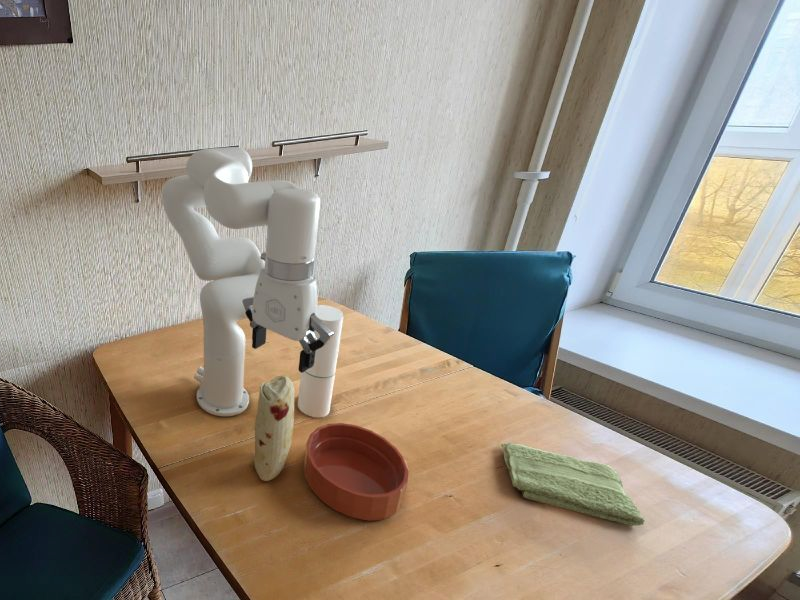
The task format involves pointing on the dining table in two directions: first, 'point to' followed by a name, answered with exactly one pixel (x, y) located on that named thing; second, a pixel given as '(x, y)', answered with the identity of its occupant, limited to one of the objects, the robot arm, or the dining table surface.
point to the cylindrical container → (321, 367)
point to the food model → (273, 426)
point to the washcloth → (570, 483)
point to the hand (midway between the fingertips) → (280, 356)
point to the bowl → (355, 471)
